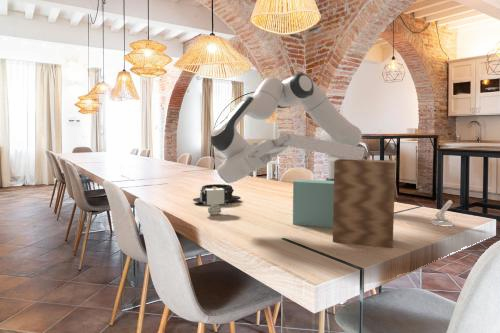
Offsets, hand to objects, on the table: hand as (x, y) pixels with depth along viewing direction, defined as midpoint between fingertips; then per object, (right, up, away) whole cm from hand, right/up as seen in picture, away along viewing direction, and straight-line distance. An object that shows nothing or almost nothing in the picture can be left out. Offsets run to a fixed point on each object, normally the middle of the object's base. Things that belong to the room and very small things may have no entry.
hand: (290, 136), depth 127 cm
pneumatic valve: (-29, -31, +34) cm, 55 cm away
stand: (+23, -34, -6) cm, 42 cm away
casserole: (-30, -29, +62) cm, 75 cm away
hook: (+60, -33, +16) cm, 71 cm away
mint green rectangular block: (+12, -32, +16) cm, 38 cm away
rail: (+9, -5, -3) cm, 11 cm away
